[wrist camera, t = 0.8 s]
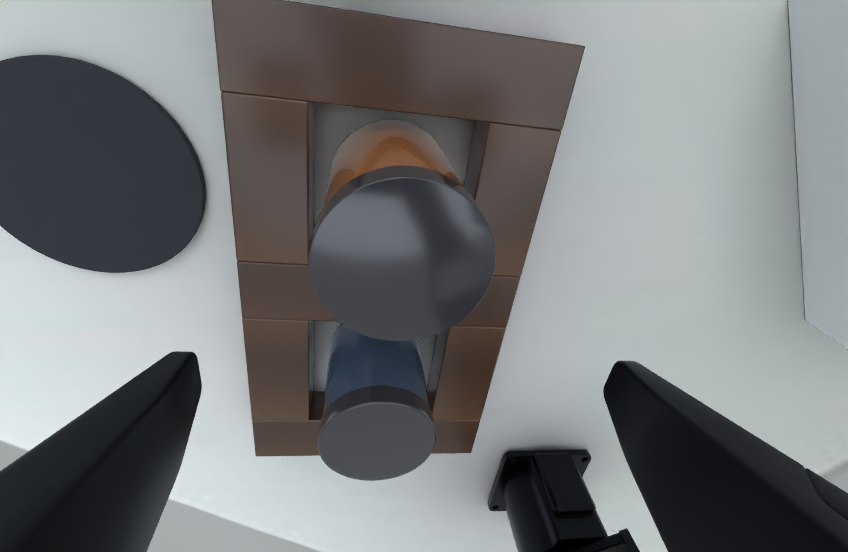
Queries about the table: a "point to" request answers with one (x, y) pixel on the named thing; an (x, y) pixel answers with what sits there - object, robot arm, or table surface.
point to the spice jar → (375, 408)
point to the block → (822, 157)
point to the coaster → (93, 167)
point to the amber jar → (399, 237)
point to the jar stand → (294, 182)
